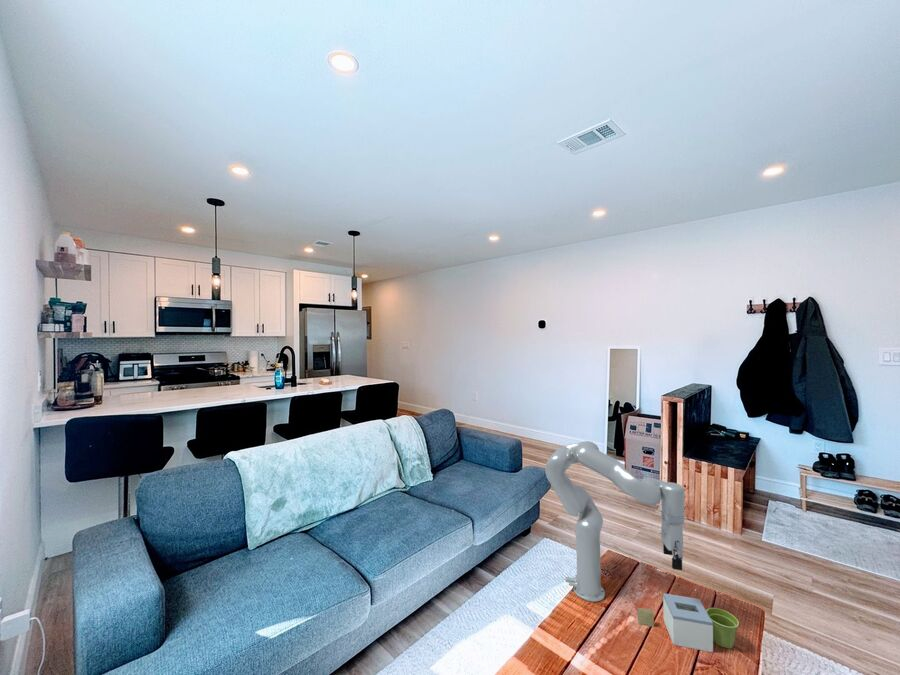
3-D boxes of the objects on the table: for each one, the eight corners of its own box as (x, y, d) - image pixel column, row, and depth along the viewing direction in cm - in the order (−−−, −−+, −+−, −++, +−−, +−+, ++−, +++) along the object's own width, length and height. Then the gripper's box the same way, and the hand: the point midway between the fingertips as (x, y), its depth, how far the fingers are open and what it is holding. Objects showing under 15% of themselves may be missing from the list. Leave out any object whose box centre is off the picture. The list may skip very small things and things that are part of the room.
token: (639, 624, 138) (638, 611, 138) (637, 620, 139) (637, 607, 140) (653, 627, 136) (653, 613, 136) (652, 623, 138) (652, 609, 138)
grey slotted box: (673, 644, 128) (673, 615, 128) (663, 619, 140) (663, 593, 140) (713, 652, 125) (712, 622, 125) (699, 626, 137) (699, 599, 137)
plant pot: (700, 636, 132) (699, 611, 132) (716, 628, 136) (716, 604, 136) (728, 656, 123) (728, 630, 123) (745, 647, 127) (745, 622, 127)
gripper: (654, 505, 150) (654, 547, 150) (669, 526, 133) (669, 573, 133) (675, 507, 148) (675, 550, 148) (692, 529, 131) (692, 577, 131)
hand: (672, 561), depth 140 cm, fingers open, 9 cm apart
